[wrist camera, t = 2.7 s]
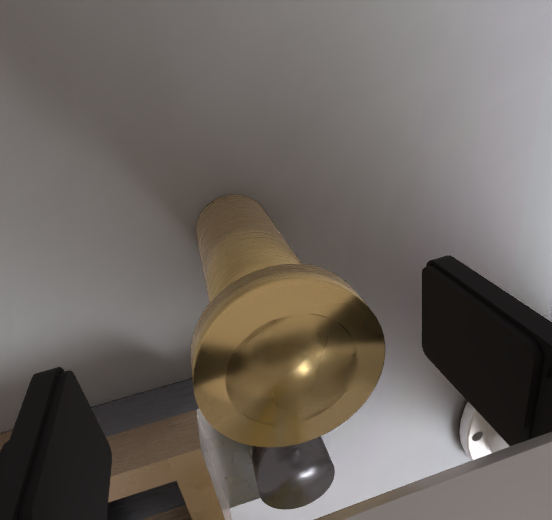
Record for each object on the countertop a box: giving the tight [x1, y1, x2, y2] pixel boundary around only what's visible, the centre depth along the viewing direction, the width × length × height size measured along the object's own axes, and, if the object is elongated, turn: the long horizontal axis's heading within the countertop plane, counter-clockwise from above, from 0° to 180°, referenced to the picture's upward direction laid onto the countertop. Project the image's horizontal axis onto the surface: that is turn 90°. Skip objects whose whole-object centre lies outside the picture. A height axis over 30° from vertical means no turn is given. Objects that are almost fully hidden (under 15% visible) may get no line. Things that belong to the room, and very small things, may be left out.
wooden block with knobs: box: [0, 378, 335, 520], centre depth 23 cm, size 20×8×5 cm, turn 100°
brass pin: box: [190, 195, 385, 447], centre depth 16 cm, size 5×5×11 cm
